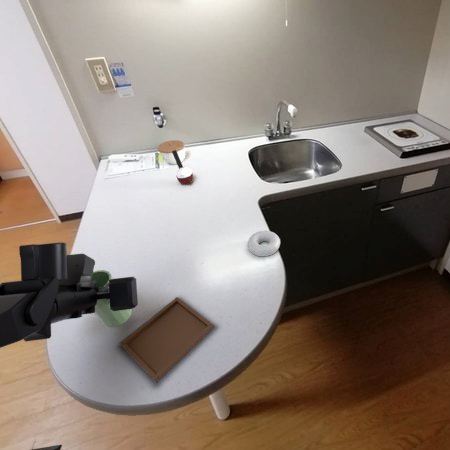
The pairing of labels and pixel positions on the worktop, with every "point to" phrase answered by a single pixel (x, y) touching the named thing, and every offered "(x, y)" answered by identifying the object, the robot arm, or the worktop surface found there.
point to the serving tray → (166, 338)
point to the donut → (263, 249)
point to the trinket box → (170, 146)
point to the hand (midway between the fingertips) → (107, 292)
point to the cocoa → (182, 171)
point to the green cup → (108, 303)
